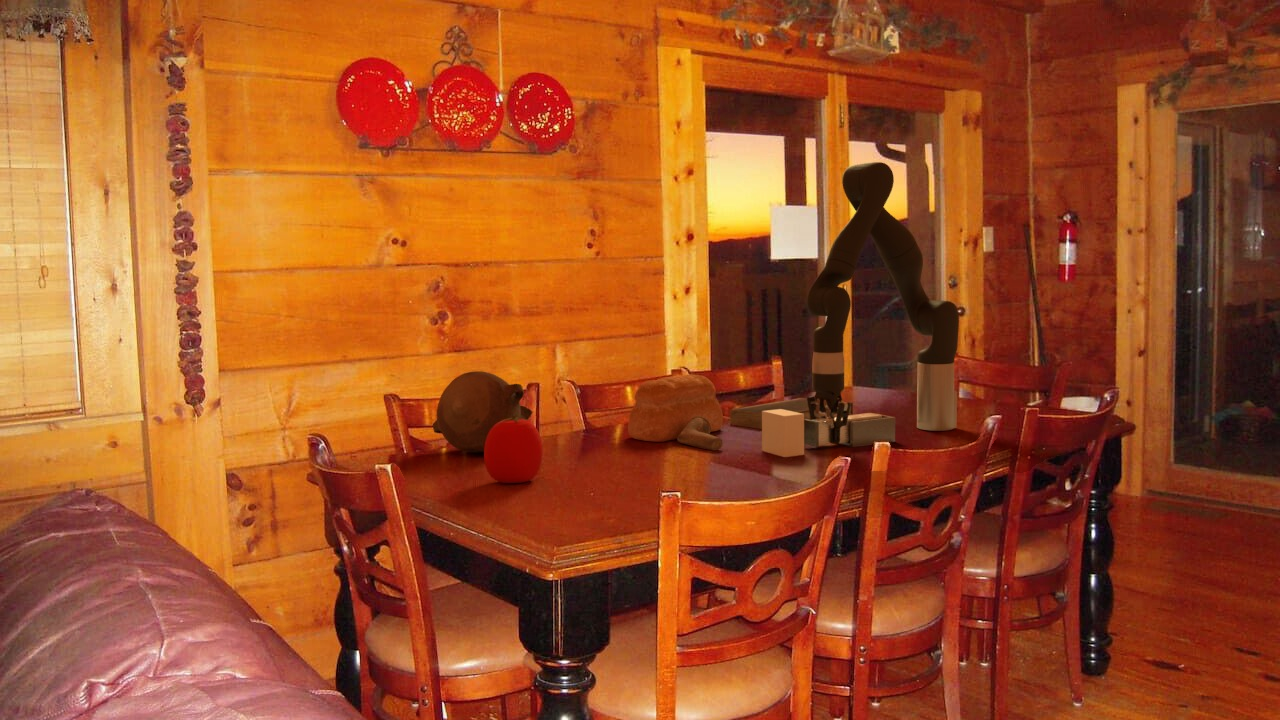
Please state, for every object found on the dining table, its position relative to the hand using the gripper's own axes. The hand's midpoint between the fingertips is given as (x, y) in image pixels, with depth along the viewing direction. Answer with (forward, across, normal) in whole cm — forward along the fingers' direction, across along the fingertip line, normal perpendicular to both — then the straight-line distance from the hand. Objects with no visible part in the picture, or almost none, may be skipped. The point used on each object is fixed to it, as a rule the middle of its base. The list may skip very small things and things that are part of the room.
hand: (828, 441), depth 255 cm
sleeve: (+1, 0, -10) cm, 11 cm away
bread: (+2, +35, +22) cm, 41 cm away
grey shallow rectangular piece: (+2, +34, -14) cm, 37 cm away
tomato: (+2, +5, +78) cm, 78 cm away
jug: (+2, +44, +69) cm, 82 cm away
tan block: (+1, 0, +13) cm, 13 cm away
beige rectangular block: (+1, 0, -4) cm, 5 cm away
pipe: (+2, +19, +23) cm, 30 cm away
